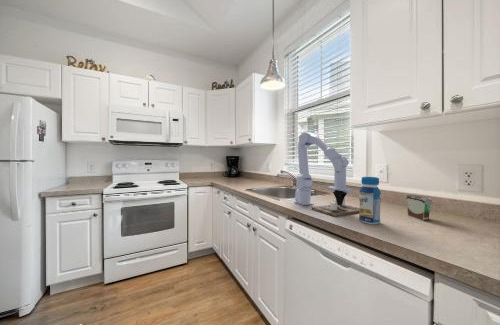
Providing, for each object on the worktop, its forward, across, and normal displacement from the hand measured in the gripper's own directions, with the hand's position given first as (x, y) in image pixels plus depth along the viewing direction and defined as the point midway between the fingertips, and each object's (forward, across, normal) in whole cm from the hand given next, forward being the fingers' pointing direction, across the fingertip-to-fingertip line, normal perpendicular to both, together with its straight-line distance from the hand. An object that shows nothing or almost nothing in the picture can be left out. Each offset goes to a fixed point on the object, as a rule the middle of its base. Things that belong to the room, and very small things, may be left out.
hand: (339, 204), depth 110 cm
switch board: (+3, -1, 0) cm, 4 cm away
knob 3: (+1, -4, +6) cm, 8 cm away
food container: (+4, +26, +25) cm, 36 cm away
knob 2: (+1, -2, 0) cm, 3 cm away
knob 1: (+1, +2, -6) cm, 7 cm away
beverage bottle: (+4, +19, -3) cm, 19 cm away
